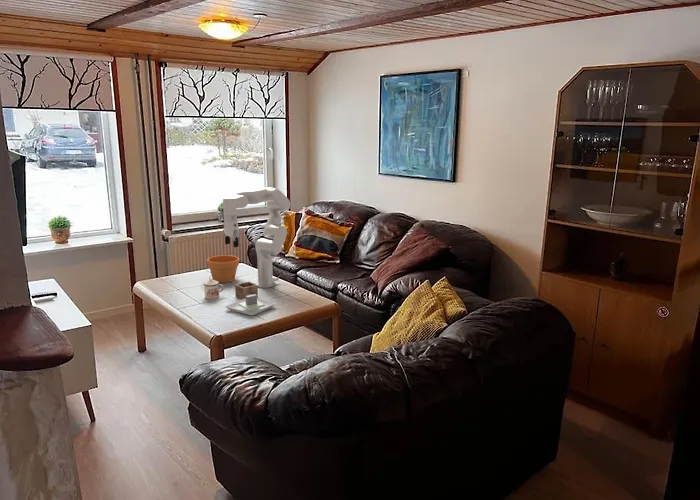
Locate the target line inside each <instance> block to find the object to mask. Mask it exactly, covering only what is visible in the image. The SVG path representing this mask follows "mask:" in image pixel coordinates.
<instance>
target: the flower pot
mask: <svg viewBox="0 0 700 500" xmlns="http://www.w3.org/2000/svg"><path fill="white" fill-rule="evenodd" d="M206 260H207V261H206V263H207V266H208V268H209V270H210V273H211V274H210V275H211V279H213V280H215V281H218V282H219V283H229V282H233V281H235V278H236V274H237V271H238V270H237V269H238V266H240V265H239V263H240V258H239V257H238V256H236V255H227V254H226V255H225V254H224V255H215V256H210V257H208V258H207V259H206Z"/></svg>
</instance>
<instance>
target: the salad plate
mask: <svg viewBox="0 0 700 500" xmlns="http://www.w3.org/2000/svg"><path fill="white" fill-rule="evenodd" d="M257 301H259V302H261V303H263V304H265V306H264V307H260V308H256V309H252V310H246V309H245V308H243V307H241V306H239V305H238V303H242V302H246V298H245V299H242V300H241V299H240V300H238V301H237V300H236V302H235V301H234V302H232V303H229V304H227V305H226V306H225V308H226V309H227V310H230V311H233V312H237V313H240V314H244V315H248V316H250V317H251V316H255V315H257V314H260V313H262V312H264V311H266V310H269V309H271V308H272V307H274V306H276V304H277V303H276V302H273V301H269V300H266V299H262V298H259V297H258V298H257Z"/></svg>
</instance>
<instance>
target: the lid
mask: <svg viewBox="0 0 700 500" xmlns="http://www.w3.org/2000/svg"><path fill="white" fill-rule="evenodd" d="M238 305H239V306H241V307H243V308H245V309H246V310H252V309H256V308H260V307H264V306H265V304H263V303H261V302H259V301H257V295H256V294H253V295H248V296H246V302H242V303H238Z"/></svg>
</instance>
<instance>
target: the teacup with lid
mask: <svg viewBox="0 0 700 500" xmlns="http://www.w3.org/2000/svg"><path fill="white" fill-rule="evenodd" d="M203 287H204V298H205V299H208V300H213V299H214V300H215V299H218V298H220V293H222V292H223V291H224V285H223V284H222V283H221V284H220V282H218V281H215V280H213V278H209V280H206V281H205V282H203ZM219 287H221V290H220V288H219Z"/></svg>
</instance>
